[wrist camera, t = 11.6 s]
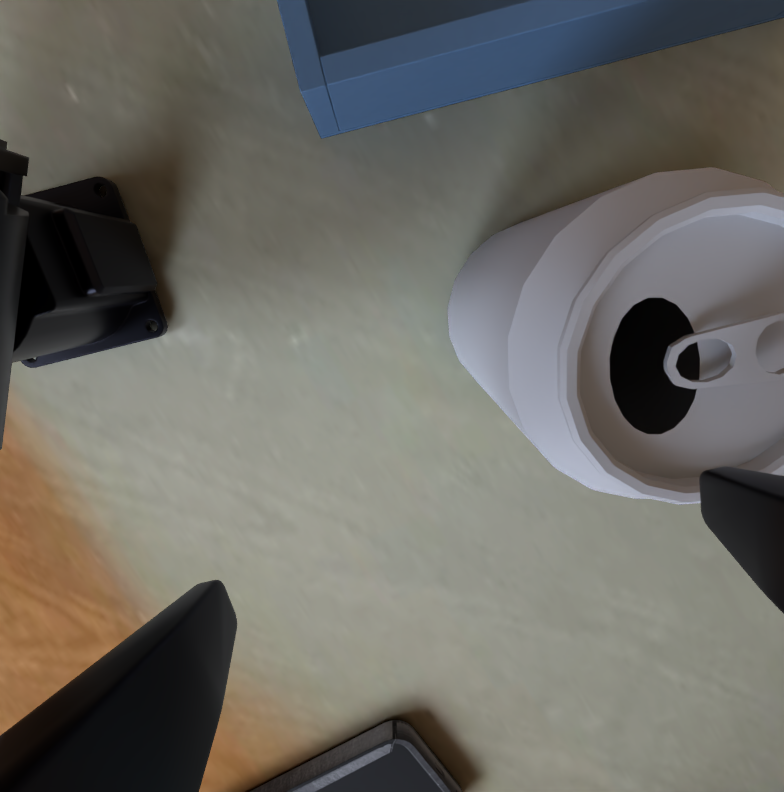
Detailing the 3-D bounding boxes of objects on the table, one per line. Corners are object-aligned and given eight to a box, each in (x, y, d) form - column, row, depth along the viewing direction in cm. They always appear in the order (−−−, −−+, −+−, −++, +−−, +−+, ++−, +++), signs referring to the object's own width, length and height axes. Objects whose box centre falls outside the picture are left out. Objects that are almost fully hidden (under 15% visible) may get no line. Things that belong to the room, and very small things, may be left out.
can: (427, 247, 19) (497, 207, 8) (601, 202, 19) (943, 90, 7) (463, 410, 21) (561, 572, 10) (621, 371, 21) (918, 491, 9)
